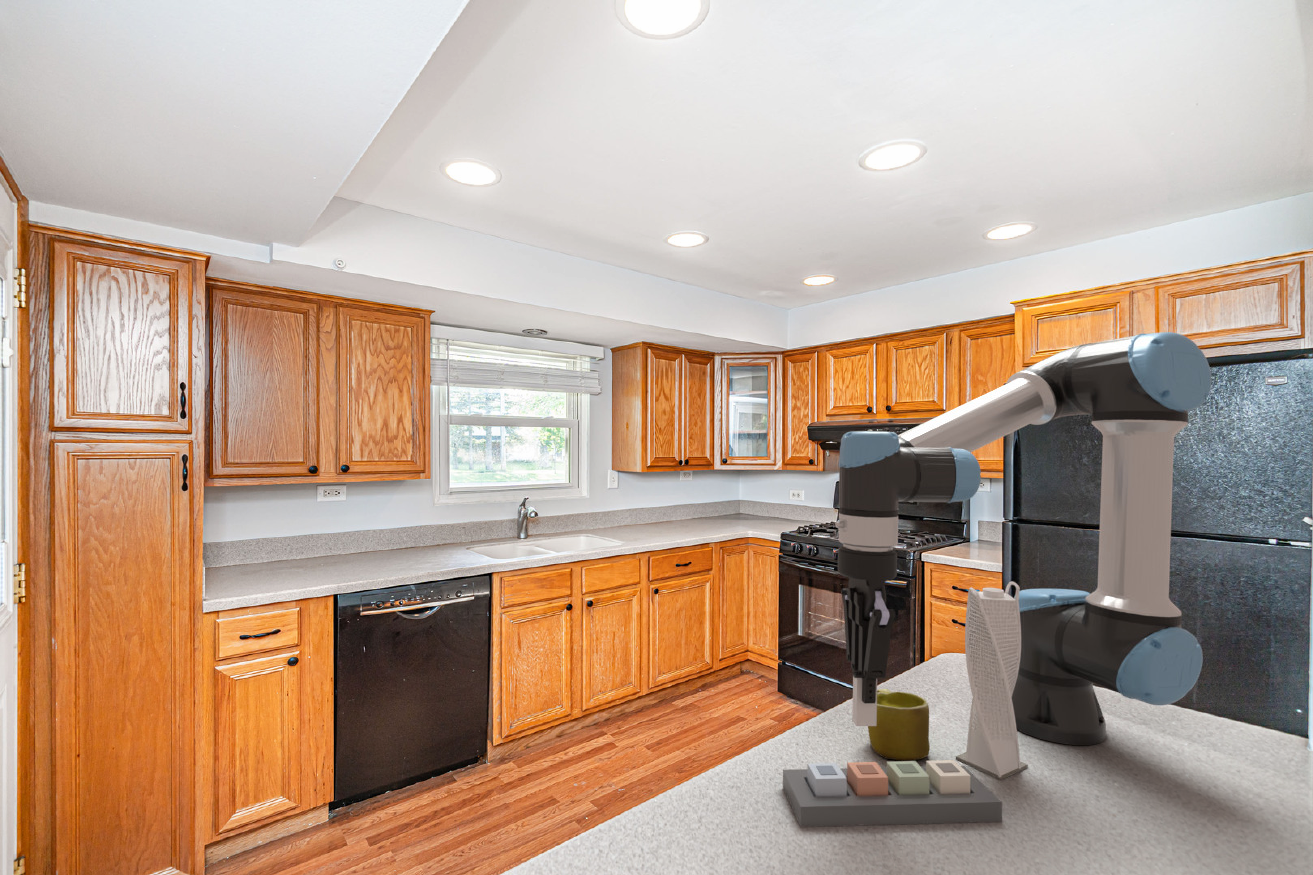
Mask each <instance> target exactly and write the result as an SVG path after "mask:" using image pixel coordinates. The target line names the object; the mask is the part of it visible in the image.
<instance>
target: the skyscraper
mask: <svg viewBox="0 0 1313 875" xmlns="http://www.w3.org/2000/svg"><path fill="white" fill-rule="evenodd" d="M1011 586H1014V587H1015V594H1014V596H1015V599H1014V597H1013V596H1012V595H1010V594H1009V593H1010V592H1009V591H1010V589H1011ZM1020 589H1021V588H1020V586H1019V585H1018V583H1016V582H1015V581H1014V580H1013V581H1009V582H1008V583H1007V585H1006V587H1005V591H1004V589H1002V588H996V587H983V588H982V591H980V590H979V591H977V590H976V589H975V588H973V587H972V586H971V587H969V589H968V591H967V592H968V593H967V602H966V613H965V629H964V631H965V632H964V646H965V647H964V650H965V652H964V653H965V662H966V669H967V675H968V681H969V687H970V691H971V695H972V698H971V699H972V700H971V706H970V707H971V708H970V714H969V721H968V731H967V732H968V733H967V740H966V741H967V743H966V751H965V752H962V753H960V754H957V755H956V756H955V760H957V761H959V762H961V763H963V764H965V765H967V766H970V767H971V768H974V769H976V770H978V771H980V772H983V773H984V774H987V775H988V776H991V777H993V778H995V779H997V780H998V781H999V780H1000V781H1002V780H1004V779H1006V778H1008V777H1010V776H1012V775H1015V774H1017V773H1019V772H1021V771H1023V770H1025V769H1027V768H1028V767H1029V765H1028V763H1026V762H1023V761H1021V756H1020V747H1019V740H1018V739H1019V738H1018V737H1019V736H1018V730H1017V729H1016V721H1015V715H1014V709H1013V703H1012V698H1011V697H1012V694H1013V691H1014V687H1015V684H1016V680H1017V675H1018V670H1019V665H1020V657H1021V623H1020V611H1019V601H1018V600H1019V591H1021V590H1020Z"/></svg>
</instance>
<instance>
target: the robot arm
mask: <svg viewBox="0 0 1313 875" xmlns="http://www.w3.org/2000/svg"><path fill="white" fill-rule="evenodd" d="M1211 389H1212V371H1211V367H1210V364H1209V362H1208V359H1207V357H1206V355H1205V353H1204V352H1203V351H1202V349H1200V348H1199V346H1198V345H1197V343H1195V342H1194V341H1193V340H1192V339H1191V338H1188V336H1187V337H1186V336H1185V335H1183V334H1180V333H1177V332H1172V331H1168V332H1167V331H1166V332H1165V331H1164V332H1163V331H1162V332H1153V333H1151V332H1150V333H1139V334H1136V335H1131V336H1125V337H1121V338H1116V339H1115V338H1114V339H1110V340H1103V341H1098V342H1091V343H1085V344H1079V345H1075V346H1072V347H1070V348H1067V349H1065V350H1062V351H1061V350H1060V352H1058V353H1055V354H1053V355H1051V356H1048V357H1046V358H1044V359H1042V360H1041V361H1038V362H1036V363H1034V364H1032V365H1030V366H1028V367H1026V368H1024V369H1022V370H1019V371H1017V372H1015V373H1014V374H1012V375H1011V376H1009V378H1008V379H1007V381H1006V383H1005V384H1003V385H1002V386H1000V387H997V388H995V389H994V390H992V391H989V392H987V393H985V394H983V395H981V396H979V397H976V398H974V399H972V400H970V401H968V402H966V403H963V404H961V405H959V406H957V407H955V408H953V409H951V410H948V411H946V412H944V413H942V414H940V415H938V416H936V417H934V418H932V419H930V420H927V421H925V422H923V423H921V424H918V425H917V426H915V427H913V428H911V429H909V430H906V431H904V432H902V433H900V434H897V433H896V432H893V431H871V430H870V431H868V430H867V431H864V430H863V431H862V430H861V431H859V430H858V431H848V432H846V433H844V434H843V435H842V437H841V439H840V446H839V457H838V458H839V460H838V468H839V470H838V471H839V472H838V474H839V475H838V479H839V480H838V508H839V509H838V521H837V520H836V522H835V523H834V524H835V527H836V528H837V529H838V542H839V543H841V544H842V545H840V546H839V547H838V549H837V572H838V574H840V575H841V576H843V577H845V578H849V579H848V587H847V588H841V591H840V595H841V598H842V600H841V601H842V605H843V619H844V621H843V622H844V634H845V650H846V651H845V652H846V660H847V662H850V664H851V665H850V667H851V670H852V722H853V724H854V725H855V726H856V727H868V726H876V724H877V690H878V679H885V678H886V676H887V675H886V674H887V667H888V660H889V653H890V652H889V651H890V645H891V644H890V643H891V635H892V628H893V625H894V622H895V619H896V611H895V610H894V609H893V608H892V609H888V608H887V600H888V599H887V594H886V593H887V592H886V585H885V583H886V582H887V581H888V580H889V581H891V580H894V579H895V578H896V577H897V575H898V552H897V551H896V550H895V549H894V548H895V547H896V546H897V545H899V544H898V543H899V542H898V541H899V511H898V510H899V503H907V502H910V503H912V502H913V503H915V502H916V503H919V502H920V503H946V504H951V503H955V502H957V503H958V502H965V501H968V500H970V499H972V498H973V497H974V496H975V495H976V494H977V492H978V491H979V488H980V485H981V478H982V476H981V472H982V471H981V465H980V464H979V461H978V459H977V457H976V456H975V455H974V454H973V452H974V451H977V450H979V449H982V448H983V447H984V446H987V445H989V444H991V443H993V442H995V441H997V440H999V439H1001V438H1004V437H1006V436H1007V435H1010V434H1012V433H1015V432H1016V431H1018V430H1020V429H1021V428H1024V427H1026V426H1028V425H1030V424H1031V425H1034V426H1035V425H1036V426H1037V425H1038V426H1039V425H1044V424H1047V423H1048V422H1050V421H1052V420H1055V419H1059V418H1062V417H1069V416H1078V415H1079V416H1081V415H1082V416H1083V415H1091V425H1092V426H1094V428H1095V429H1097V431H1099V432H1100V433H1101V435H1102V452H1101V453H1102V454H1101V455H1102V456H1101V457H1102V459H1101V478H1100V479H1101V482H1100V483H1101V485H1100V506H1099V508H1100V510H1099V512H1100V513H1099V534H1098V537H1099V539H1098V542H1099V543H1098V565H1097V566H1098V569H1097V588H1096V589H1095V591H1092V592H1091V593H1090V592H1088V591H1086V590H1085V591H1084V590H1078V589H1066V588H1029V589H1028V588H1027V589H1022V590H1020V591H1019V600H1018V601H1019V611H1020V623H1021V657H1020V665H1019V670H1018V675H1017V680H1016V684H1015V687H1014V691H1013V694H1012V697H1011V698H1012V703H1013V709H1014V715H1015V721H1016V729H1017V731H1019V732H1021V733H1023V734H1025V735H1028V736H1031V737H1034V738H1037V739H1040V740H1042V741H1043V740H1044V741H1047V742H1052V743H1058V744H1064V745H1071V746H1072V745H1074V746H1092V745H1097V744H1099V743H1102V742H1103V741H1105V740H1106V739H1107V738H1106V737H1107V725H1106V720H1105V717H1104V715H1103V711H1102V708H1101V705H1100V702H1099V700H1098V698H1097V695H1096V692H1095V688H1094V684H1097V685H1098V686H1101V687H1104V688H1105V689H1108V690H1111V691H1113V692H1115V693H1118V694H1120V695H1121V696H1122V697H1125V698H1128V699H1130V700H1137V701H1140V702H1143V703H1145V704H1148V705H1153V706H1167V705H1171V704H1174V703H1176V702H1178V701H1179V700H1181V699H1183V698H1184V697H1185V696H1186V695H1187V694H1188V693H1189V692H1190V691H1191V690H1192V689H1193V688H1194V686H1195V685H1196V683H1197V681H1198V679H1199V677H1200V674H1201V672H1202V666H1203V661H1204V660H1203V656H1204V655H1203V649H1202V646H1201V644H1200V643H1199V642H1198V639H1197V637H1196V636H1195V635H1193V634H1192V633H1191V632H1189V631H1188V630H1186V629H1185V628H1182V619H1183V618H1182V617H1183V616H1182V610H1180V609H1179V608H1178V607H1177V606H1176V605H1175V604H1174V603H1173V602H1172V601H1171V599H1170V593H1169V592H1170V573H1171V572H1170V569H1171V566H1170V565H1171V538H1172V537H1171V536H1172V535H1171V534H1172V506H1173V476H1174V451H1175V450H1174V448H1175V447H1174V443H1175V436H1176V435H1177V434H1178V433H1179V432H1180V431H1182V430H1183V429H1184V428H1186V427H1187V426H1188V425H1189V424H1188V423H1189V412H1191V411H1193V410H1195V409H1198V408H1199V407H1201V406H1202V405H1203V404H1204V403H1205V402H1206V398H1207V397H1209V395H1210V392H1211ZM1013 598H1014V599H1015V595H1014V597H1013Z"/></svg>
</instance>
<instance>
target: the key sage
mask: <svg viewBox="0 0 1313 875" xmlns="http://www.w3.org/2000/svg"><path fill="white" fill-rule="evenodd" d="M886 767H887V777H888V783H889V784H890V786H891V787H892V788H893V790H894V791H895V792H896V794H897V795H922V794H929V776H928V774H927V773H926V772H925V771H924V770H923V769H922V768H921V767H922V766H921V765H920V764H919V763H918V762H917V761H916V760H913V761H899V760H896V761H895V760H894V761H886Z"/></svg>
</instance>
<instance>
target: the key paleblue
mask: <svg viewBox="0 0 1313 875" xmlns="http://www.w3.org/2000/svg"><path fill="white" fill-rule="evenodd" d="M840 768H841V767H840V766H839V764H838V763H837V762H809V763H808V762H807V768H806V769H807V784H808V786H809V788H810V790H811V792H812V794H813V796H814V797H837V796H847V778H846V777H845V775H844V773H843V772H842V770H841V769H840Z"/></svg>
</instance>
